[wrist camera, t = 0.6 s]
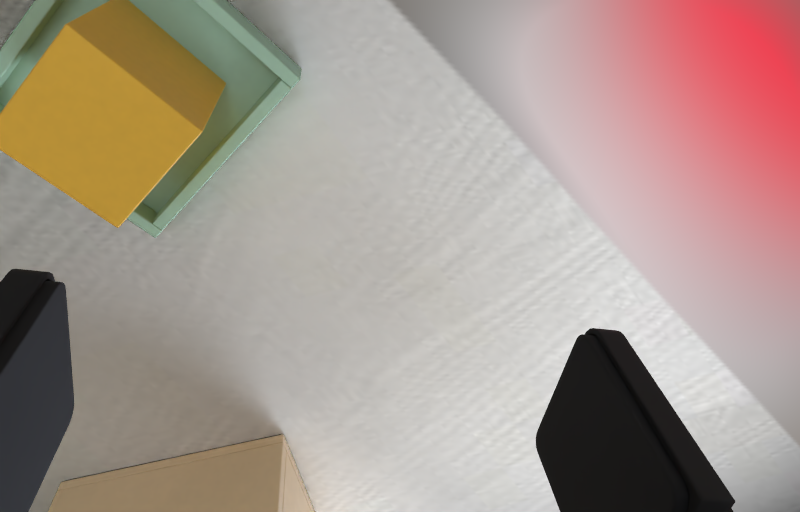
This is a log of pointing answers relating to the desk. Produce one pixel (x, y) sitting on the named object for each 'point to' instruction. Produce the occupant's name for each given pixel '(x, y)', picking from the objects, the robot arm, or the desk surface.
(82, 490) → the sand bin
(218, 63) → the green tray
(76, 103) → the mustard box
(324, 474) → the desk surface
